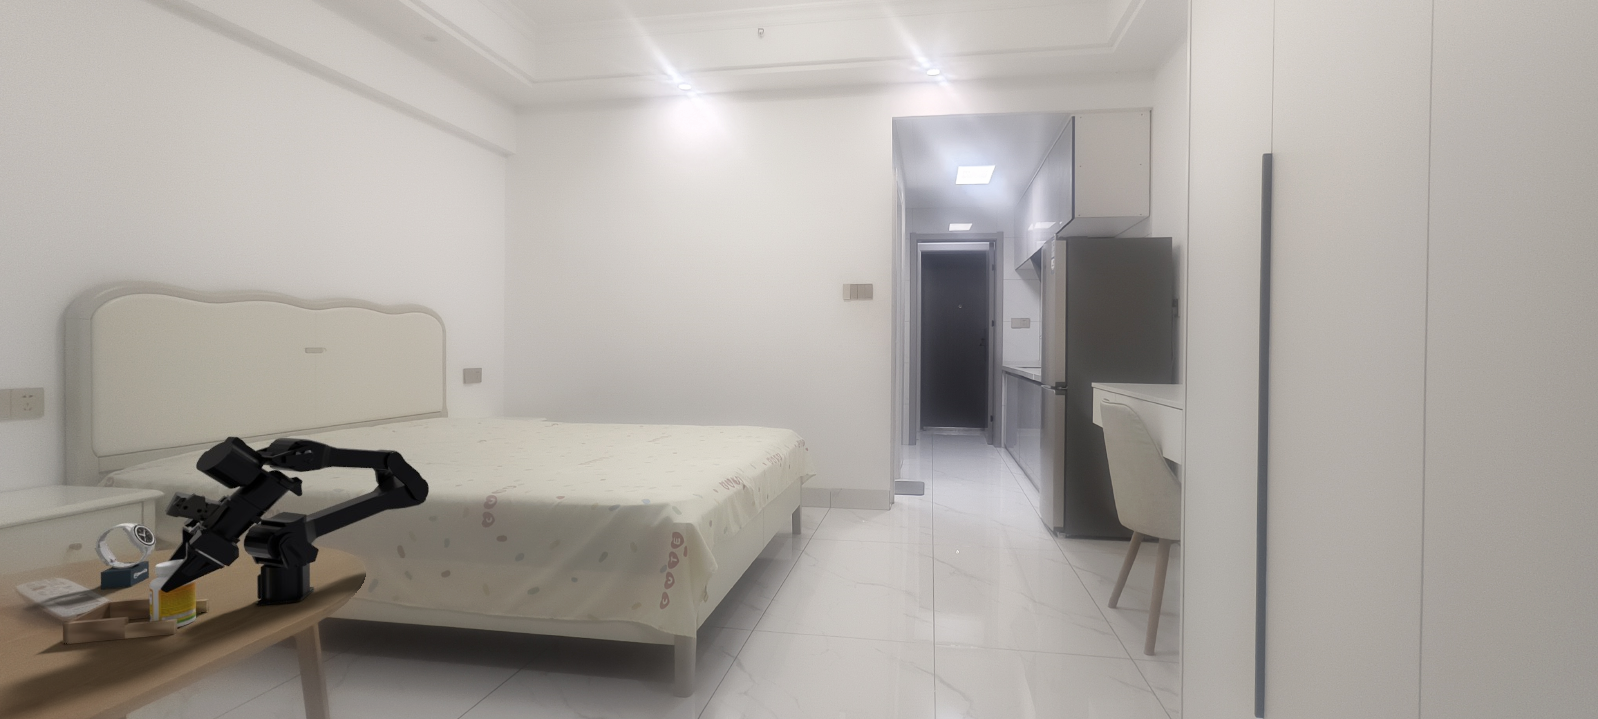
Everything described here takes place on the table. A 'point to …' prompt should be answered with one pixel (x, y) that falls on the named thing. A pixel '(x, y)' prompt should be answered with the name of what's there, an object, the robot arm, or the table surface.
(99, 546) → the watch
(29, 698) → the table surface
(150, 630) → the jig
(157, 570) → the supplement bottle
